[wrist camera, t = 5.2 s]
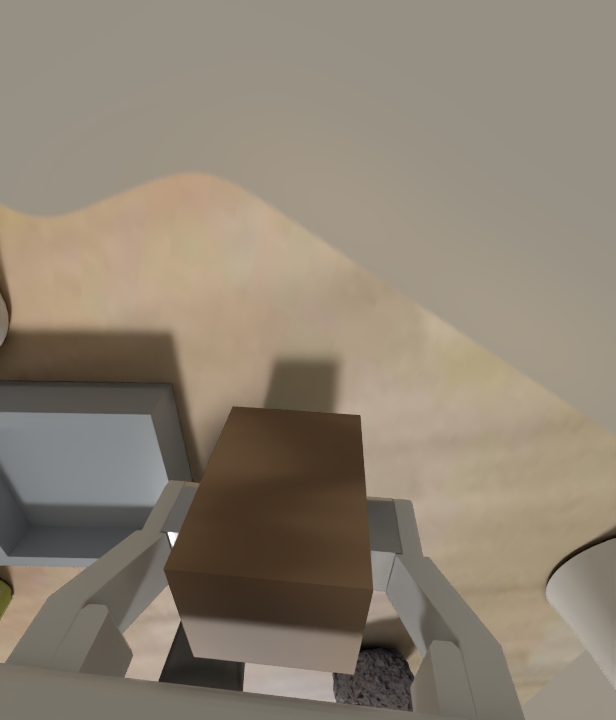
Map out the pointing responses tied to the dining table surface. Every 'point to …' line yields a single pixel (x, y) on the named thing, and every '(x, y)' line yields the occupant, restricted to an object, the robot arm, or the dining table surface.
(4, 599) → the plant pot
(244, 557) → the walnut block
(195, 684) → the beverage cup
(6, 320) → the milk bottle
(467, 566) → the dining table surface
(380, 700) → the pumice stone
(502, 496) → the dining table surface
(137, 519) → the tray
